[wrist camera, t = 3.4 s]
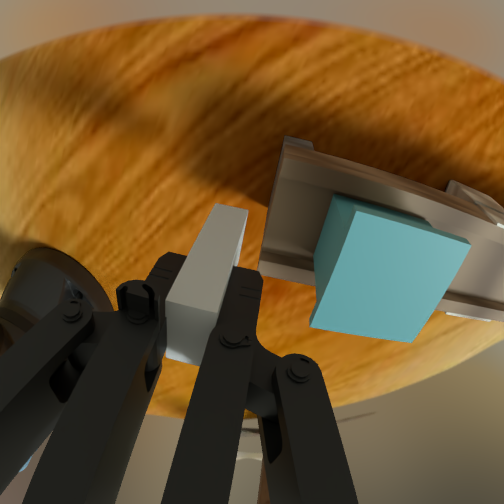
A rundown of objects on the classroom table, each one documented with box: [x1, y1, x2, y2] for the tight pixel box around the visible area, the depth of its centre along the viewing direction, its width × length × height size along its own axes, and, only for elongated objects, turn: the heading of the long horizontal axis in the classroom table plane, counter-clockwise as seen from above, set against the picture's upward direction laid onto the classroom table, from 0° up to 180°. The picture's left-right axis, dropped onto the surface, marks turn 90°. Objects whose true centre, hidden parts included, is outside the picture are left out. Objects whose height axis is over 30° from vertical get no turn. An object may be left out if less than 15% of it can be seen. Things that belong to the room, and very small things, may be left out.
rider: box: [309, 194, 472, 343], centre depth 15 cm, size 6×6×5 cm
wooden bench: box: [257, 135, 504, 322], centre depth 20 cm, size 32×7×8 cm, turn 79°
